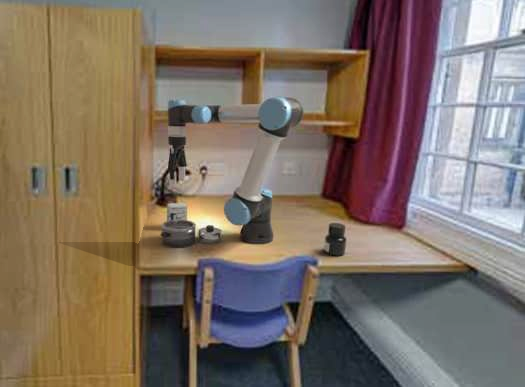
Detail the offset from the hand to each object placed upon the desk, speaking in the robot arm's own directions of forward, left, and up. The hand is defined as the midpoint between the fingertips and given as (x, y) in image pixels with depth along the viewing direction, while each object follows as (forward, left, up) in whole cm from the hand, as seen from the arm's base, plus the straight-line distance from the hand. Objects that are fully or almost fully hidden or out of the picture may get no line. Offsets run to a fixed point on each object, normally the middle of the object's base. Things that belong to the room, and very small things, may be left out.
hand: (177, 183), depth 186 cm
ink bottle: (-69, -19, -22) cm, 75 cm away
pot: (-10, +11, -22) cm, 27 cm away
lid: (-19, +1, -22) cm, 29 cm away
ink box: (+2, -2, -22) cm, 23 cm away
